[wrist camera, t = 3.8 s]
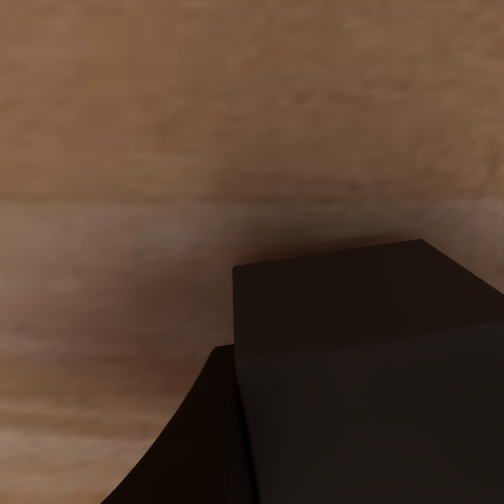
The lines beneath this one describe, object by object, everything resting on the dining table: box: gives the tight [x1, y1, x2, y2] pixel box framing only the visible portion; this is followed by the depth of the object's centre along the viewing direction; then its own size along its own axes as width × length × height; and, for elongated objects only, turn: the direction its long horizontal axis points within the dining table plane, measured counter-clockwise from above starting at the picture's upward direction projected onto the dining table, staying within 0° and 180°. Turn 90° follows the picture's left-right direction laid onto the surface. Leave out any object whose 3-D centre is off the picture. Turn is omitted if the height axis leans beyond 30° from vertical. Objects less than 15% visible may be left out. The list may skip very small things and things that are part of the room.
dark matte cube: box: [232, 239, 504, 504], centre depth 9 cm, size 4×4×4 cm
